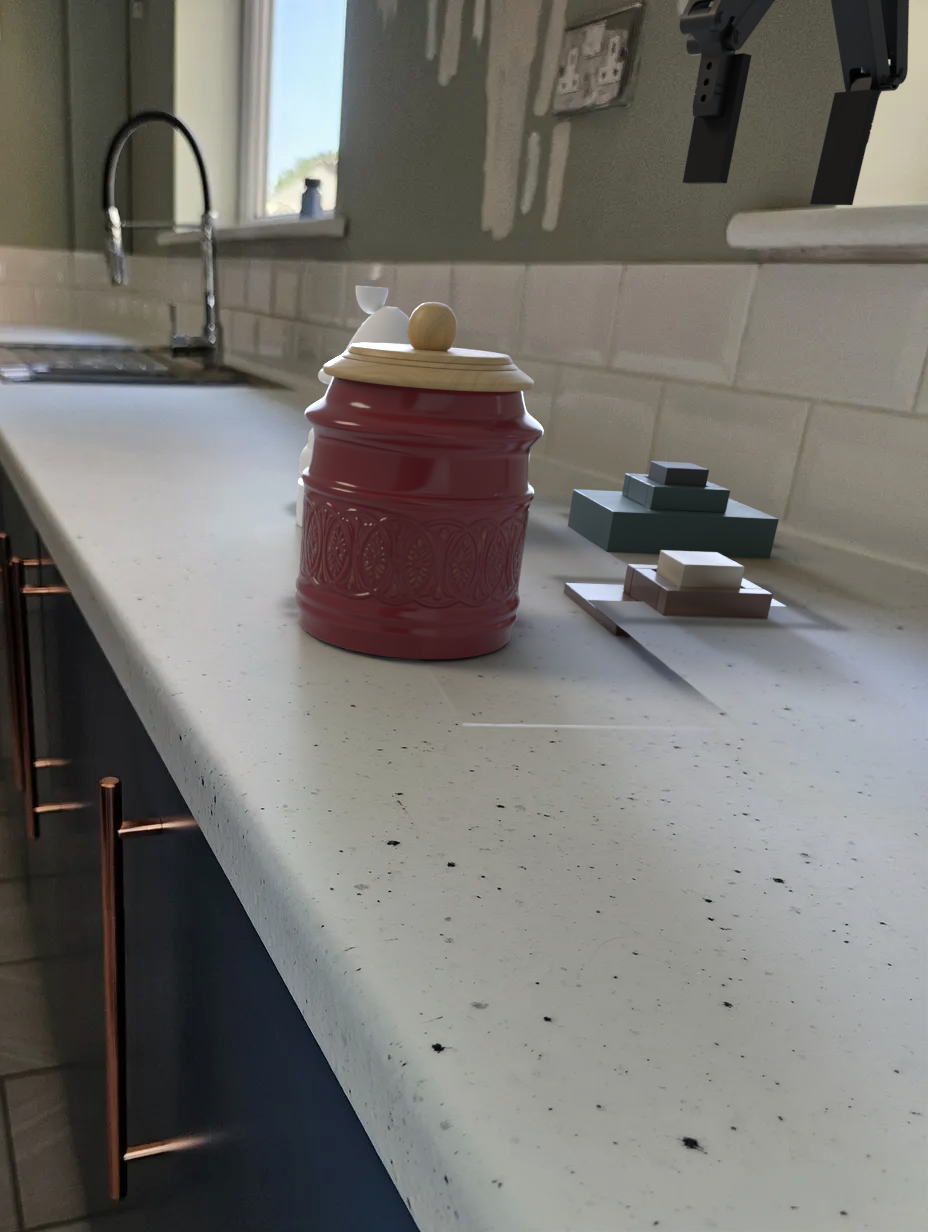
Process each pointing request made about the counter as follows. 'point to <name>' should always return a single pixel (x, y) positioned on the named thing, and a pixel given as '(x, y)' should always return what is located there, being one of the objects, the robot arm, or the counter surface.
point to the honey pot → (376, 329)
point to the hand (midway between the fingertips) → (770, 195)
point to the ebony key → (678, 474)
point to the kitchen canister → (416, 497)
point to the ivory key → (699, 569)
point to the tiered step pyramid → (671, 520)
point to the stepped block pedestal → (672, 597)
